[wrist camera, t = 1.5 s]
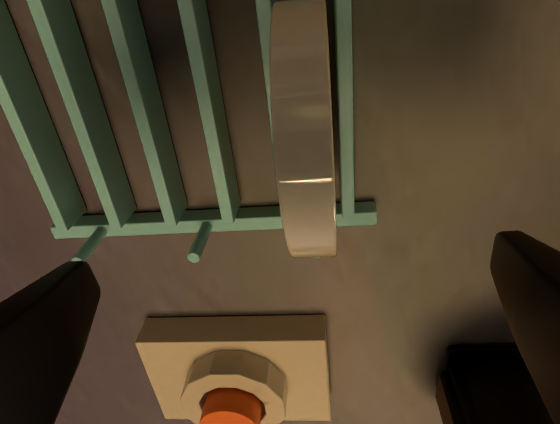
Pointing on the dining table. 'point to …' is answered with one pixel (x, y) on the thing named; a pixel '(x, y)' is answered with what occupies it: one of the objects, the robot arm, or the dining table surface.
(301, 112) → the plate
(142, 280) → the dining table surface
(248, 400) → the button
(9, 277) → the dining table surface
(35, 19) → the rack
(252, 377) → the panel
